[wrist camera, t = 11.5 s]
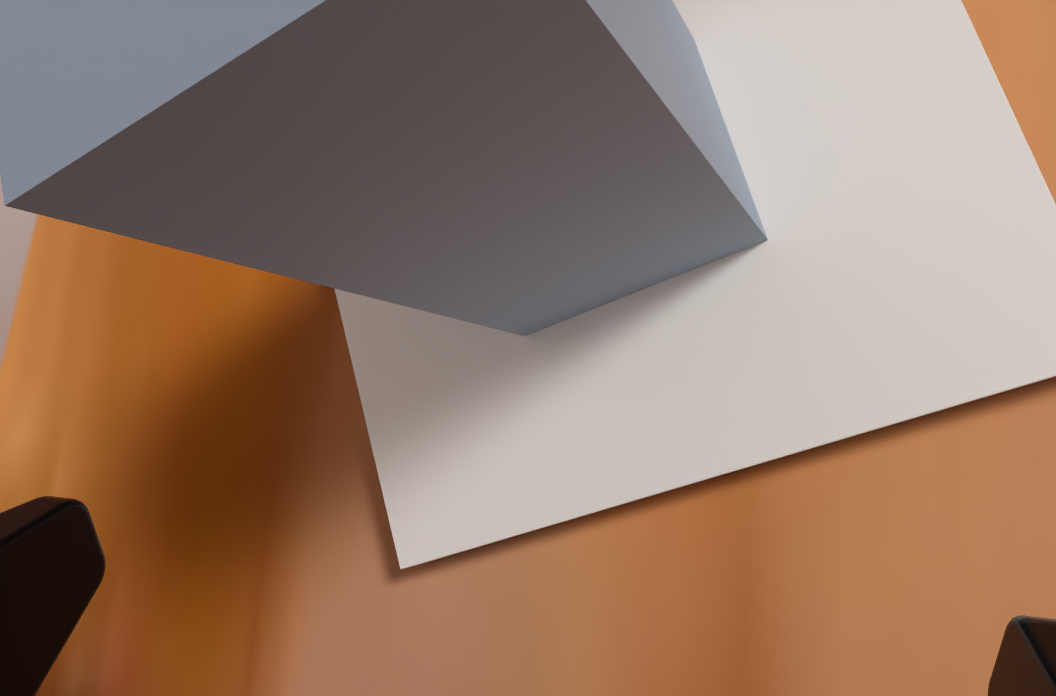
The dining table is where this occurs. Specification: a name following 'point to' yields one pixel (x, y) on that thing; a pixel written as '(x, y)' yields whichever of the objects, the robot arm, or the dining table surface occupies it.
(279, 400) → the dining table surface
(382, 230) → the tea box
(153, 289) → the dining table surface
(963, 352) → the white rectangular slab
